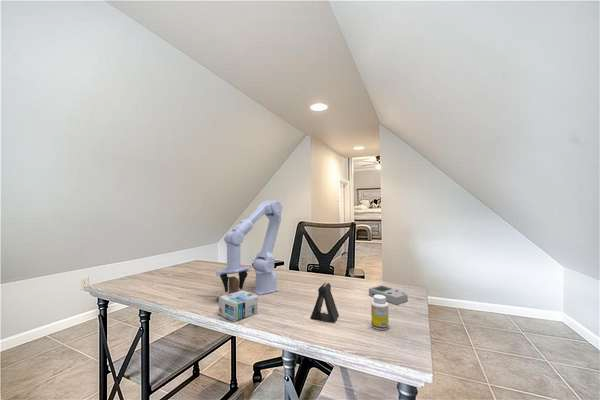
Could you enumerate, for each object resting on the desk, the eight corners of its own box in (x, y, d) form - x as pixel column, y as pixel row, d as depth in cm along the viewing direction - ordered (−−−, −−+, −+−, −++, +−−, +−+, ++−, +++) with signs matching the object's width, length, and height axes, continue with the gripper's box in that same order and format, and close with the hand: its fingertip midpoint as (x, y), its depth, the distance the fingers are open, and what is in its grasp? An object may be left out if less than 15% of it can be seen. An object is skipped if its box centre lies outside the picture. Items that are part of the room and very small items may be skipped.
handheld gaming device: (396, 306, 108) (396, 296, 109) (368, 296, 121) (368, 287, 121) (409, 301, 114) (409, 293, 114) (381, 292, 126) (381, 284, 126)
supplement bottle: (375, 321, 93) (375, 292, 93) (391, 326, 89) (390, 295, 90) (368, 327, 89) (368, 296, 89) (384, 332, 85) (384, 300, 85)
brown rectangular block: (234, 296, 118) (234, 276, 118) (238, 300, 113) (238, 279, 113) (228, 297, 117) (228, 277, 117) (233, 301, 112) (233, 280, 112)
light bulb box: (258, 296, 101) (234, 303, 93) (258, 313, 101) (233, 322, 93) (242, 290, 108) (218, 296, 100) (241, 306, 108) (217, 314, 100)
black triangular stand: (339, 316, 98) (338, 283, 98) (334, 323, 92) (334, 288, 92) (316, 312, 101) (315, 281, 101) (310, 319, 96) (310, 285, 96)
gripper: (219, 262, 108) (219, 295, 108) (252, 258, 116) (252, 289, 116) (214, 259, 114) (214, 291, 114) (246, 255, 122) (246, 285, 122)
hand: (233, 290), depth 115 cm, fingers open, 6 cm apart
